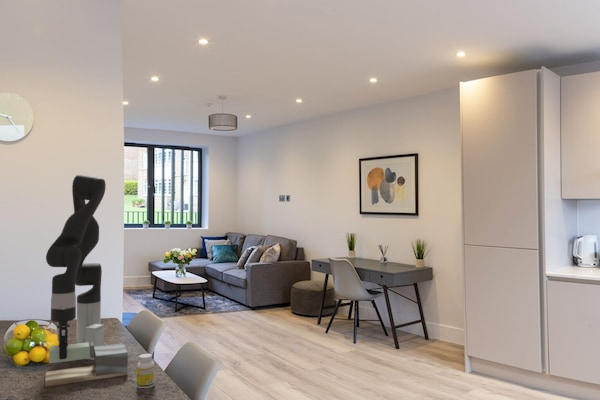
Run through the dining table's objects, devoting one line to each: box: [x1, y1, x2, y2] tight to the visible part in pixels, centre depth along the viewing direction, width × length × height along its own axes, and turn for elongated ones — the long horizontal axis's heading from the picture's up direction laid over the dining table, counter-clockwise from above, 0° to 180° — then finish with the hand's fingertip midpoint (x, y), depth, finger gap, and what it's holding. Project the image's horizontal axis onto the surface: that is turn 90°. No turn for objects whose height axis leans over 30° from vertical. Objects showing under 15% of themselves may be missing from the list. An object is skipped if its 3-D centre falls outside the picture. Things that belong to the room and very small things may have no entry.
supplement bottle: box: [136, 353, 156, 389], centre depth 154 cm, size 5×5×10 cm
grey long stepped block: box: [44, 342, 129, 388], centre depth 163 cm, size 12×25×8 cm, turn 117°
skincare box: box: [85, 323, 105, 361], centre depth 182 cm, size 6×4×12 cm
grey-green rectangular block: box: [48, 342, 94, 364], centre depth 161 cm, size 6×14×4 cm, turn 117°
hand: (62, 356), depth 160 cm, fingers closed on grey-green rectangular block, 5 cm apart
